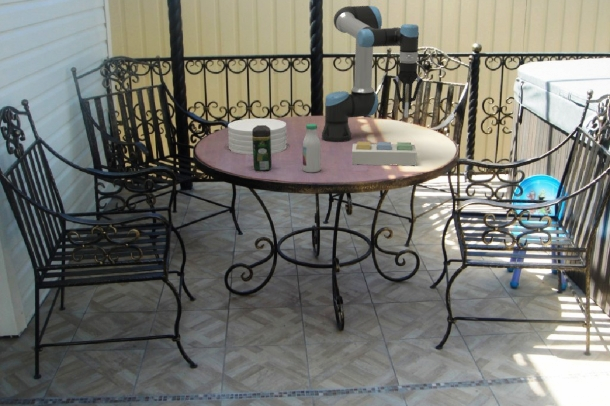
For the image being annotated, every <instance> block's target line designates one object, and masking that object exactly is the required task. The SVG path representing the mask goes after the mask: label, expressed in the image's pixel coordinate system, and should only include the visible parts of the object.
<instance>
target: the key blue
mask: <svg viewBox="0 0 610 406" xmlns="http://www.w3.org/2000/svg"><path fill="white" fill-rule="evenodd" d="M376 144H377V150H391V144H392V143H391V141H377V142H376Z"/></svg>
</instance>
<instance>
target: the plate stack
mask: <svg viewBox="0 0 610 406" xmlns="http://www.w3.org/2000/svg"><path fill="white" fill-rule="evenodd" d="M258 125H266V126H267V127H269V128H270V133H271V155H272V154H278V153H280V152H283V151H285V150H286V149H287V147H288V146H287V123H286V121H283V120H279V119H273V118H260V117H259V118H246V119H245V118H243V119H239V120H234V121H232V122H230V123H228V124H227V128H228V130H227V131H228V136H227V137H228V138H227V139H228V150H229V149H230V150H231V151H230V150H229V151H230V152H233V153H236V154H241V155H248V156H249V155H250V156H251V155H252V156H253V141H252V130H253V128H254V127H256V126H258Z"/></svg>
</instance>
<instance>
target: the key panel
mask: <svg viewBox="0 0 610 406" xmlns="http://www.w3.org/2000/svg"><path fill="white" fill-rule="evenodd" d="M411 145H412V150H397V143H395V144H394V143H393V144H392V143H391V150H377V143H371V150H359V149H357V143H352V150H351V151H352V152H351V165H352V166H355V165H356V166H358V165H357V164H368V165H367V166H392V165H393V164H397V165H416V166H417V156H418V154H417V153H418V151H417V148H416V145H415V144H411ZM390 164H392V165H390Z"/></svg>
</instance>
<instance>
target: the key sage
mask: <svg viewBox="0 0 610 406" xmlns="http://www.w3.org/2000/svg"><path fill="white" fill-rule="evenodd" d="M396 144H397V150H412V145H413V144H412V142H405V141H403V142H402V141H399V142H398V141H397V143H396Z"/></svg>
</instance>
